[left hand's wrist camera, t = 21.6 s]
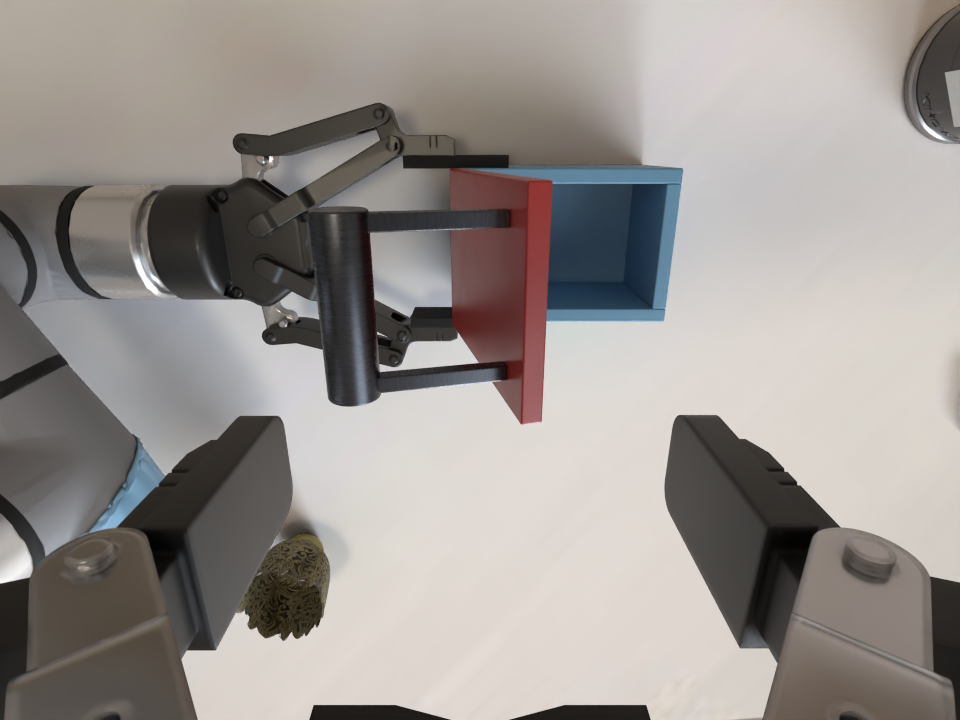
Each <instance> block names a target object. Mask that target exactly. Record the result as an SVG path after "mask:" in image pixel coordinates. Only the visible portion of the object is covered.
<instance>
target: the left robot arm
mask: <svg viewBox="0 0 960 720" xmlns="http://www.w3.org/2000/svg"><path fill="white" fill-rule="evenodd" d="M904 97H905V105H906V109H907V112H908V115H909V117H910V120H911V121H912V123H913V125H914V126H915V127H916V128H917V130H919V131H920V132H921V133H922V134H923V135H924V136H926V137H928V138H929V139H931V140H934V141H937V142H940V143H947V144H960V5H959V6H957V7H955V8H954V9H952V10H951V11H949V12H948V13H947V14H945V15H944V16H943V17H942V18H941V19H939V20H938V21H937V22H936V23H935V24H934V25H933V26H932V28H931V29H930V30H929V31H928V32H927V33H926V35H925V36H924V37H923V39H922V40H921V42H920V44H919V45H918V47H917V49H916V51H915V52H914V55H913V57H912V59H911V62H910V64H909V67H908V71H907V74H906V80H905V88H904ZM292 492H293V486H292V477H291V470H290V463H289V456H288V449H287V443H286V436H285V429H284V424H283V422H282V420H281V418H280V417H279V416H240V417H238V418H237V419H236V420H235V421H234V422H233V423H232V424H231V425H230V426H229V427H228V429H227V430H226V431H225V432H224V433H223V434H222V435H221V436H220V437H219V438H218V439H217V440H210V441H209V442H207V443H205V444H204V445H202V446H200V447H198V448H197V449H195V450H193V451H191V452H190V453H188V454H187V455H186V456H185V457H184V458H183V459H182V460H181V461H180V462H179V463H178V464H177V465H176V466H175V467H174V468H173V469H172V473H168V474H167V475H166V476H165V477H164V479H163V480H162V481H161V482H160V483H159V487H155V488H154V489H153V490H152V491H151V492H150V493H149V494H148V495H147V496H146V497H145V498H144V499H143V500H142V501H141V502H140V503H139V504H138V505H137V506H136V507H135V508H134V510H133V511H132V512H131V513H130V514H129V515H128V516H127V517H126V518H125V519H124V520H123V521H122V522H121V523H120V524H119V525H118V526H117V527H116V528H110V529H104V530H99V531H96V532H92V533H89V534H86V535H83V536H81V537H78V538H76V539H74V540H71V541H69V542H67V543H66V544H64V545H62V546H60V547H58V548H57V549H55V550H54V551H52V552H51V553H50V554H48V555H47V556H46V557H45V558H44V559H43V560H42V561H40V562H39V563H38V565H37V566H36V567H35V569H34V570H33V572H32V574H31V576H30V577H29V578H24V579H20V580H15V581H10V582H5V583H0V720H198V719H197V716H196V712H195V708H194V705H193V701H192V697H191V694H190V690H189V686H188V683H187V679H186V675H185V672H184V668H183V664H182V661H181V659H182V657H183V656H184V654H185V652H186V650H216V649H217V647H218V645H219V643H220V641H221V639H222V637H223V635H224V634H225V632H226V630H227V628H228V626H229V624H230V622H231V620H232V618H233V617H234V615H235V613H236V611H237V609H238V607H239V605H240V603H241V602H242V600H243V598H244V596H245V594H246V592H247V590H248V588H249V586H250V585H251V583H252V581H253V579H254V577H255V575H256V573H257V571H258V569H259V568H260V566H261V564H262V562H263V560H264V558H265V556H266V554H267V552H268V551H269V549H270V547H271V545H272V543H273V541H274V539H275V537H276V535H277V534H278V532H279V530H280V528H281V526H282V524H283V522H284V520H285V518H286V517H287V515H288V512H289V510H290V506H291V501H292ZM665 499H666V505H667V508H668V511H669V513H670V515H671V517H672V519H673V521H674V523H675V525H676V527H677V529H678V531H679V533H680V534H681V536H682V538H683V540H684V542H685V544H686V546H687V548H688V550H689V552H690V554H691V556H692V557H693V559H694V561H695V563H696V565H697V567H698V569H699V571H700V573H701V575H702V577H703V578H704V580H705V582H706V584H707V586H708V588H709V590H710V592H711V594H712V596H713V598H714V599H715V601H716V603H717V605H718V607H719V609H720V611H721V613H722V615H723V617H724V619H725V620H726V622H727V624H728V626H729V628H730V630H731V632H732V634H733V636H734V638H735V640H736V641H737V643H738V645H739V647H740V648H769V649H770V651H771V653H772V655H773V656H774V658H775V660H776V661H777V663H778V664H777V668H776V672H775V675H774V679H773V683H772V686H771V690H770V694H769V697H768V701H767V705H766V708H765V712H764V716H763V719H762V720H960V583H959V582H954V581H949V580H944V579H940V578H935V577H930V576H929V574H928V572H927V570H926V569H925V567H924V566H923V565H922V563H921V562H920V561H918V560H917V559H916V558H915V557H914V556H913V555H912V554H910V553H909V552H908V551H906V550H905V549H903V548H902V547H900V546H898V545H896V544H894V543H893V542H891V541H889V540H886V539H884V538H882V537H879V536H877V535H874V534H871V533H868V532H864V531H861V530H856V529H850V528H841V527H840V526H839V525H838V524H837V523H836V522H835V521H834V520H833V519H832V518H831V517H830V516H829V515H828V514H827V513H826V512H825V511H824V510H823V509H822V508H821V507H820V505H819V504H818V503H817V502H816V501H815V500H814V499H813V498H812V497H811V496H810V495H809V494H808V493H807V492H806V491H805V490H804V489H803V488H802V487H801V486H797V481H796V480H795V479H794V478H793V477H792V476H791V475H790V474H789V473H788V472H784V468H783V467H782V466H781V465H780V464H779V463H778V462H777V461H776V460H775V459H774V458H773V456H772V455H771V454H770V453H769V452H767V451H765V450H763V449H762V448H760V447H758V446H756V445H755V444H753V443H751V442H749V441H748V440H746V439H739V438H738V437H737V436H736V435H735V434H734V433H733V431H732V430H731V429H730V428H729V427H728V426H727V425H726V424H725V423H724V421H723V420H722V419H721V418H720V417H719V416H717V415H679V416H677V417H676V419H675V421H674V424H673V428H672V435H671V442H670V449H669V456H668V463H667V470H666V477H665ZM310 720H449V719H445V718H442V717H438V716H434V715H430V714H427V713H423V712H419V711H415V710H412V709H408V708H404V707H400V706H397V705H314V706H313V710H312V713H311V716H310ZM511 720H650V716H649V713H648V710H647V706H646V705H563V706H560V707H556V708H552V709H548V710H545V711H541V712H537V713H533V714H530V715H526V716H522V717H518V718H515V719H511Z"/></svg>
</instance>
